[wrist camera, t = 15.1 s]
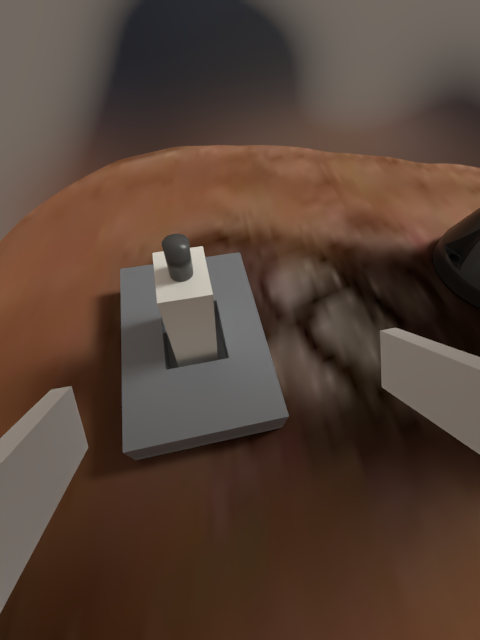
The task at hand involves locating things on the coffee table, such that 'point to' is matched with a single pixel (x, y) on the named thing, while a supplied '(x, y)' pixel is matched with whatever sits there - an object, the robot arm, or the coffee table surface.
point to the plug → (185, 300)
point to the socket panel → (195, 369)
